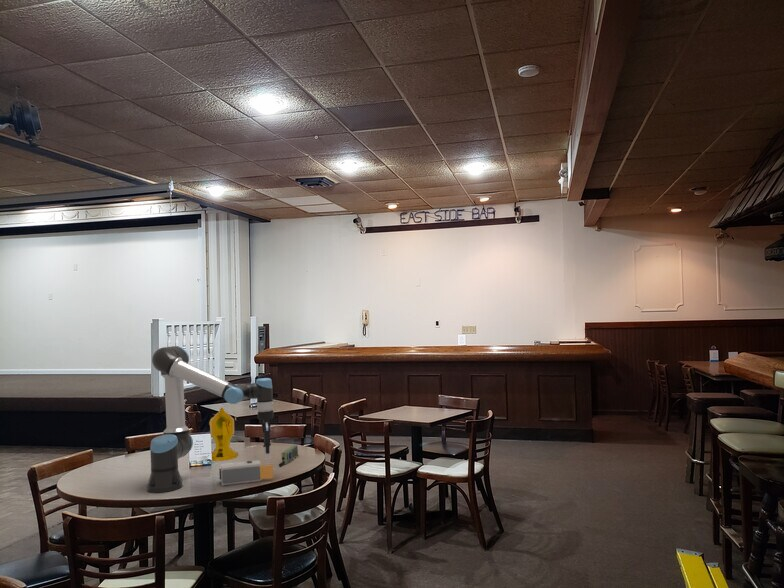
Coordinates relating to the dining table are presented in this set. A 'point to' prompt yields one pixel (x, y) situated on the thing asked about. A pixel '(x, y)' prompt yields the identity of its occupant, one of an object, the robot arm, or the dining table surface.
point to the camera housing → (236, 466)
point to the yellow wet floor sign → (222, 436)
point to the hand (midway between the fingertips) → (267, 459)
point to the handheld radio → (289, 454)
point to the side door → (247, 474)
